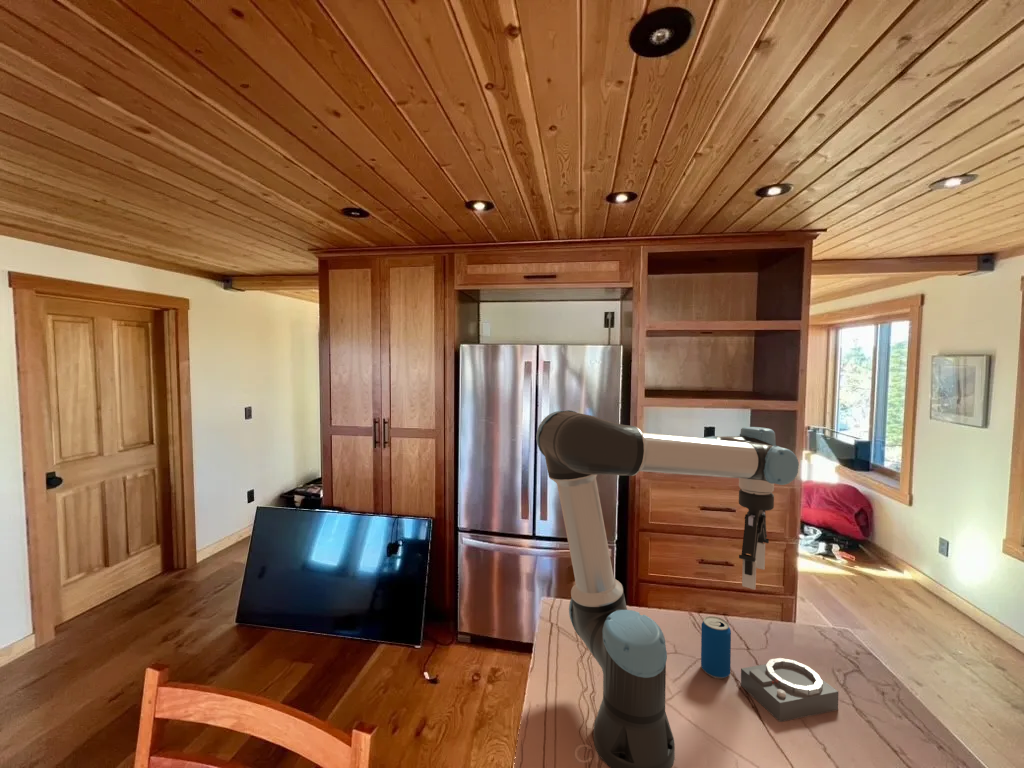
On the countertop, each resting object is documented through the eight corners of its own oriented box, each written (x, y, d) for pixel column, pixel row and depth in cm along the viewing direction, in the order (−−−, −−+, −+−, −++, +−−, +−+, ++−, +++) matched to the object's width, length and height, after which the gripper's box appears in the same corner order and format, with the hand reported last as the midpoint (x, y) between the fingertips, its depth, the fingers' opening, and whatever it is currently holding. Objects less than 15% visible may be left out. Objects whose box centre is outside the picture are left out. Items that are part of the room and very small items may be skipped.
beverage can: (733, 682, 103) (734, 631, 103) (704, 678, 104) (704, 628, 104) (726, 664, 109) (726, 616, 109) (698, 661, 110) (698, 614, 110)
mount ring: (793, 698, 92) (794, 693, 92) (756, 666, 102) (756, 661, 102) (834, 691, 94) (834, 685, 94) (793, 660, 105) (793, 655, 105)
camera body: (779, 721, 91) (780, 699, 91) (740, 685, 102) (741, 664, 102) (838, 709, 94) (838, 687, 94) (794, 675, 105) (794, 656, 105)
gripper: (766, 504, 95) (763, 602, 95) (780, 484, 115) (778, 564, 115) (728, 498, 100) (725, 591, 100) (748, 479, 119) (746, 557, 120)
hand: (753, 577), depth 107 cm, fingers open, 13 cm apart
